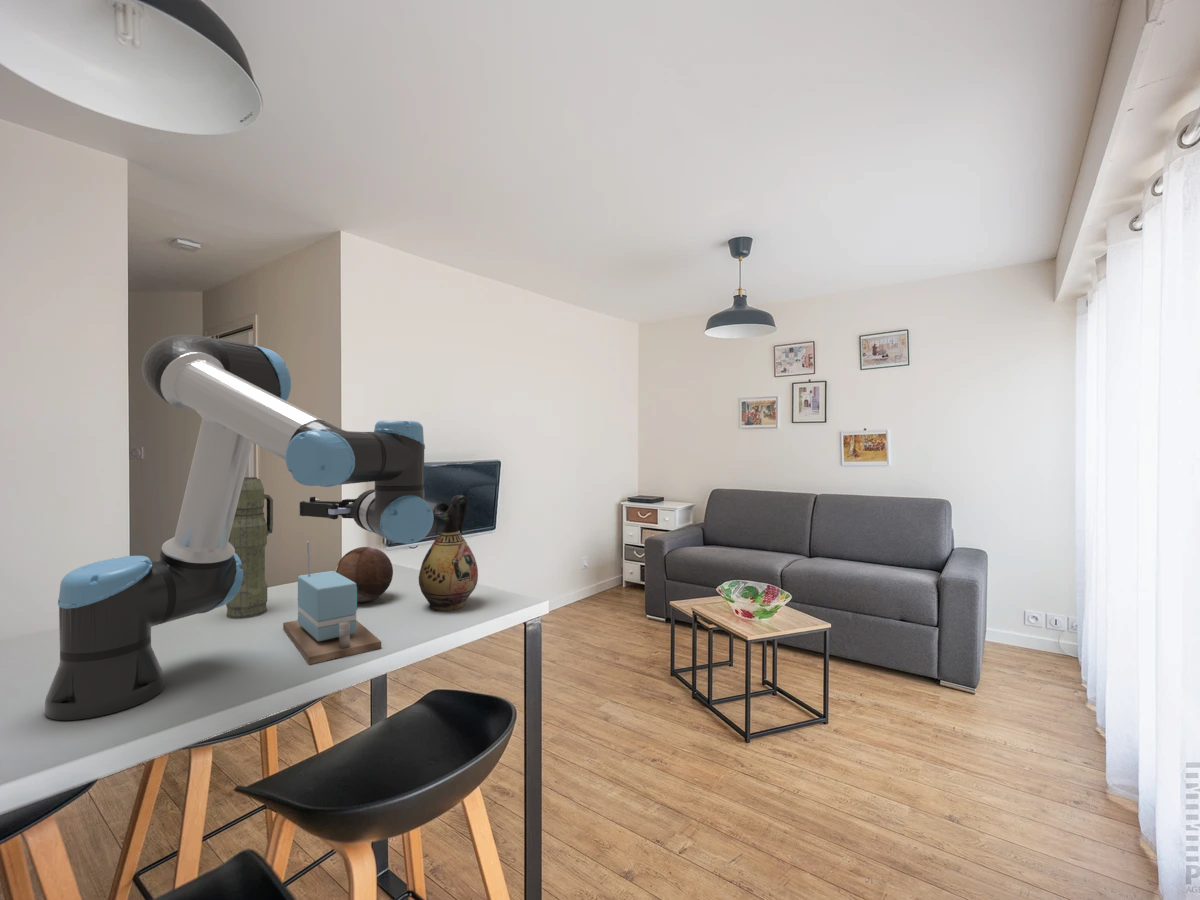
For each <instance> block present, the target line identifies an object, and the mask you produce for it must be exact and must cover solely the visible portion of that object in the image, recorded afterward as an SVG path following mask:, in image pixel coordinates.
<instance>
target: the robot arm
mask: <svg viewBox="0 0 1200 900" xmlns="http://www.w3.org/2000/svg"><path fill="white" fill-rule="evenodd" d="M141 374H142V377H143V380H144V382H145V384H146V386H147V387H148V389H149V390H150V391H151V392H152V393H153V394H154V395H156V396H157V397H158V398H159V399H161V400H163V401H164V402H166V403H167V404H169V405H171V406H173V407H175V408H176V409H177V408H178V409H180V410H184V411H195V412H197V414H198V415H199V416H200V417H201V422H200V427H199V430H198V435H197V439H196V445H195V448H194V453H193V456H192V461H191V465H190V468H189V469H190V471H189V472H188V473H189V474H188V478H187V482H186V487H185V491H184V495H183V499H182V504H181V508H180V512H179V516H178V517H179V518H178V521H177V524H176V529H175V534H174V537H172V538H170V539H168V540H166V541H165V542H163V543H162V546H161V549H160V553H159V557H158V559H156V560H152V561H151V559H150V557H148V556H145V555H126V556H122V557H121V556H120V557H118V558H116V557H115V558H108V559H104V560H99V561H95V562H91V563H88V564H85V565H81V566H79V567H77V568H74V569H73V570H71V571H69V572H68V573H66V574H65V575H64V576H63V578H62V579H61V580H60V585H59V595H58V598H57V605H58V614H59V615H58V616H59V617H58V620H59V621H58V623H59V625H58V626H59V627H58V628H59V629H58V630H59V663H58V667H57V670H56V672H55V675H54V677H53V679H52V682H51V685H50V686H49V689H48V691H47V694H46V696H45V700H44V715H45V716H46V717H47V718H49V719H51V720H57V721H73V720H74V721H75V720H76V721H77V720H84V719H91V718H96V717H101V716H105V715H110V714H115V713H117V712H121V711H125V710H127V709H131V708H133V707H135V706H138V705H140V704H143V703H144V702H147V701H149V700H151V699H152V698H155V696H157V695H159V694H160V693H161V692H163V690H164V688H165V673H164V671H163V669H162V667H161V665H160V663H159V661H158V658H157V656H156V653H155V651H154V649H153V647H152V627H154V626H155V627H156V626H158V625H162V624H165V623H169V622H173V621H176V620H179V619H183V618H187V617H189V616H194V615H198V614H205V613H209V612H211V611H212V610H215V609H218V608H221V607H223V606H226V604H227V603H228V602H230V601H231V600H232V599H233V598H234V597H235V596H236V594H237V593H238V591H239V589H240V587H241V584H242V580H243V569H240V567H241V565H242V563H241V560H240V558H239V557H238V555H237V554H236V553H235V548H234V547H233V546H232V545H231V544H230V543H229V542H228V541H229V537H230V533H231V529H232V525H233V521H234V517H235V513H236V508H237V504H238V500H239V496H240V492H241V488H242V484H243V480H244V477H245V475H246V472H247V468H248V464H249V460H250V455H251V453H252V452H251V451H252V449H253V448H252V447H253V443H254V444H256V445H257V446H260V447H261V448H263V449H265V450H267V452H270V453H272V454H273V455H276V456H277V457H279V458H281V459H283V460H285V464H286V468H287V470H288V472H290V473H291V476H292V478H293V479H294V481H296V482H297V483H298V484H301V485H303V486H307V487H322V488H329V487H331V488H332V487H336V486H342V485H350V484H359V483H362V484H363V483H372V482H374V488H373V489H368V490H365V491H364V492H362V493H361V494H360V495H358V496H357V498H345V499H342V500H341V501H337V500H336V501H335V500H331V501H330V500H321V499H319V498H316V496H308V497H307V501H304V500H302V501H299V516H300V517H314V518H323V519H324V518H326V519H330V520H337V519H339V516H341V518H342V519H353V520H354V522H355V524H356V525H357V526H358V527H360V528H361V529H363V530H365V531H368V532H370V533H373V534H376V535H378V536H381V537H382V538H383V539H384V540H388V541H390V542H392V543H399V544H404V545H405V544H406V545H407V544H409V545H411V544H414V543H417V542H418V543H419V541H421V540H423V539H424V538H425V537H426V536H427V535H428V534H429V533H430V532H431V529H432V527H433V525H434V524H433V523H434V519H435V518H434V511H433V509H432V507H431V506H430V504H429V503H428V502H427V501H426V500H425V449H426V446H425V442H424V441H425V440H424V427H423V425H422V423H420V422H419V421H414V420H413V421H412V420H379V421H377V422H375V425H374V430H373V431H349V430H344V429H342V428H340V427H338V426H335V425H334V424H331V423H330V422H327V421H325V420H324V419H322V418H320V417H319V416H316V415H314V414H312V413H310V412H308V411H306V410H305V409H303V408H301V407H299V406H297V405H295V404H293V403H290V402H289V401H288V399H289V397H290V394H291V390H292V378H291V373H290V370H289V368H288V367H287V365H286V362H285V360H284V359H283V358H282V357H281V356H280V355H279V354H278V353H277V352H275V351H274V350H271V349H269V348H266V347H263V346H258V345H256V344H251V343H246V342H239V341H233V340H226V339H222V338H221V339H220V338H215V337H214V338H213V337H208V336H204V335H198V334H190V333H189V334H188V333H187V334H184V333H182V334H175V335H171V336H167V337H165V338H162V339H161V340H159V341H157V342H155V343H154V344H153V345H151V346H150V348H149V349H148V350H147V351H146V352H145V355H144V357H143V359H142V364H141Z"/></svg>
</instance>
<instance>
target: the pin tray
mask: <svg viewBox="0 0 1200 900" xmlns="http://www.w3.org/2000/svg"><path fill="white" fill-rule="evenodd" d="M282 630H283V631H284V632H285V634H286V635H287V637H288V638H289V640H290V641H291V643H293V644H294V646H295V648H297V650H298V652H299V653H300V655H301V656H302V657H303V659H304V660H305V661H306V662H307V664H308V665H309V666H310V665H315V664H319V663H322V662H327V660H328V661H331V659H332V660H336V659H335V658H337V659H341V658H345V656H346V657H349V656H353V655H358V654H362V653H367V652H371V651H376V650H379V649H382V641H381V639H379V638H378V637H377V636H376V635H375V634H373V633H372V632H371V631H370V630H368V628H366V627H365V626H364V625H363V624H362V623H361V622H359V621H358V620H357V619H356V633H354V634H351V635H350V622H341V623H339V638H338V639H334V640H329V641H323V642H318V641H317V640H316V639H315V638H314V637H313V636H312V635H310V634H309V633H308V632H307V631H306V630H305V629H304V628H303V627H302V626H301V625H300V624H299V623H298V619H296V620H291V621H285V622H282ZM340 657H341V658H340Z"/></svg>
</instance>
